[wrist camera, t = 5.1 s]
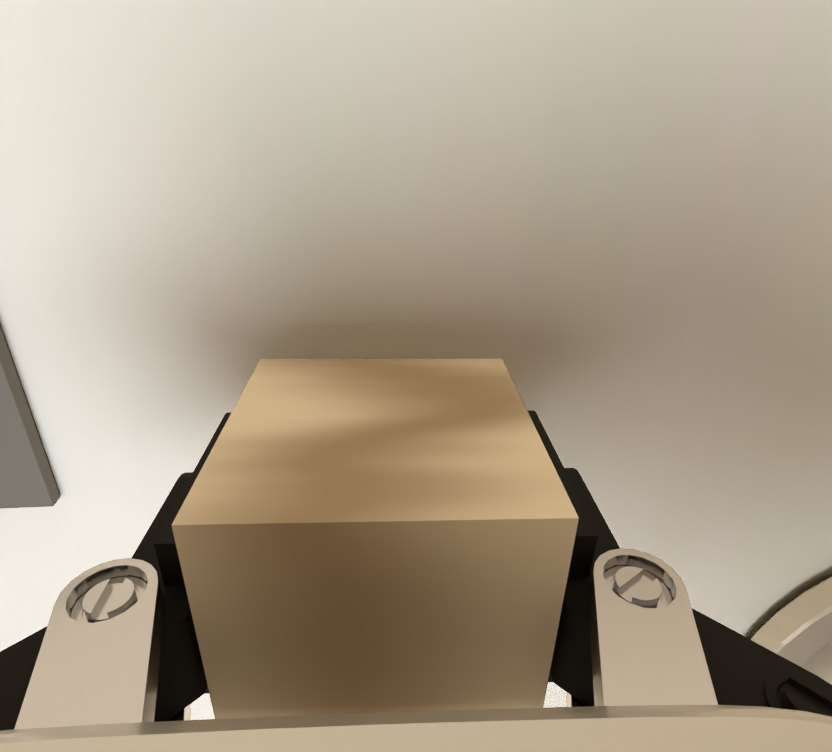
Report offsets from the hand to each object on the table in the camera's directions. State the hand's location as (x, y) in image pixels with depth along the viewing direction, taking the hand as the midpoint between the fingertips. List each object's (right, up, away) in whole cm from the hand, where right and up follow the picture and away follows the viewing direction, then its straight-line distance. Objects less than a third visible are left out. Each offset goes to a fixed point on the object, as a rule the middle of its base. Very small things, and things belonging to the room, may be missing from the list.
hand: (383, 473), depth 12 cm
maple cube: (0, 0, 0) cm, 1 cm away
